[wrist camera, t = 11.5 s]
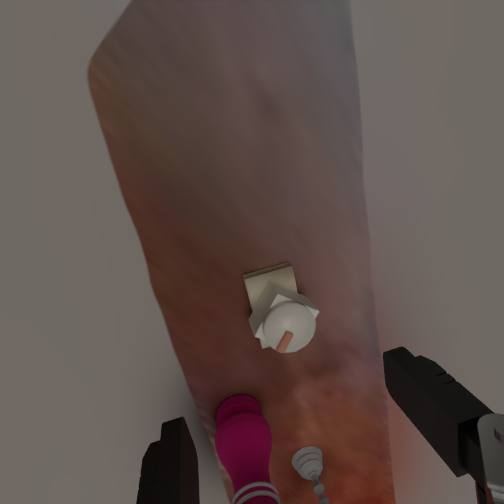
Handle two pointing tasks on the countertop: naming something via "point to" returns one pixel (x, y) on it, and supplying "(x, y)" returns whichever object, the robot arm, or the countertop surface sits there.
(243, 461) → the pepper mill
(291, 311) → the knob
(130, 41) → the countertop surface
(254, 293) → the board
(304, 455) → the chalice
